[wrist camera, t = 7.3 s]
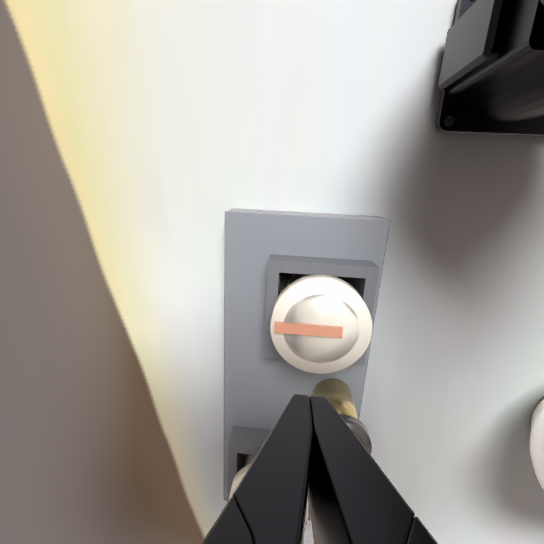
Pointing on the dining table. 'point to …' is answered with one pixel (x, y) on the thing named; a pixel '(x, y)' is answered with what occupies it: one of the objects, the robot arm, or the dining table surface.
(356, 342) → the white round cap
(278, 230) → the mount
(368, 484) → the robot arm
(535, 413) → the lidded jar
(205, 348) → the dining table surface
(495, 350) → the dining table surface
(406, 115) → the dining table surface
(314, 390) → the metal knob
